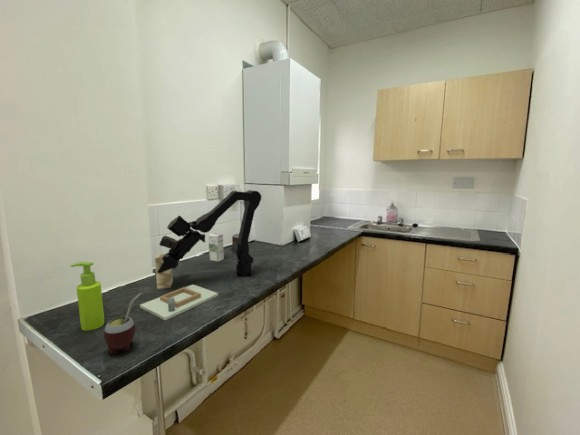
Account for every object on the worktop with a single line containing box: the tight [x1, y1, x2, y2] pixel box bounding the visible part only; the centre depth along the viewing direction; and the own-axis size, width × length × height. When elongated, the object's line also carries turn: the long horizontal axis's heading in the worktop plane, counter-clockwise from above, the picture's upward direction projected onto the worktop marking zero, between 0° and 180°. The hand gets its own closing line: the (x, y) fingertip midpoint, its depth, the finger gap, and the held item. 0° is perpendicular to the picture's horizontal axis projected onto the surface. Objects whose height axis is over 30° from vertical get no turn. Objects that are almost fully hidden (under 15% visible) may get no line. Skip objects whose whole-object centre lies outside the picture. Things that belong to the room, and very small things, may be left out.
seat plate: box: [139, 284, 219, 321], centre depth 101 cm, size 22×15×5 cm
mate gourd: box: [103, 292, 142, 357], centre depth 73 cm, size 8×8×15 cm
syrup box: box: [207, 232, 225, 263], centre depth 148 cm, size 6×6×14 cm
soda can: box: [231, 233, 239, 244], centre depth 157 cm, size 7×7×12 cm
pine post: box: [154, 253, 174, 290], centre depth 114 cm, size 5×5×13 cm
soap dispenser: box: [70, 261, 105, 332], centre depth 83 cm, size 6×7×20 cm
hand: (160, 269), depth 114 cm, fingers open, 6 cm apart
